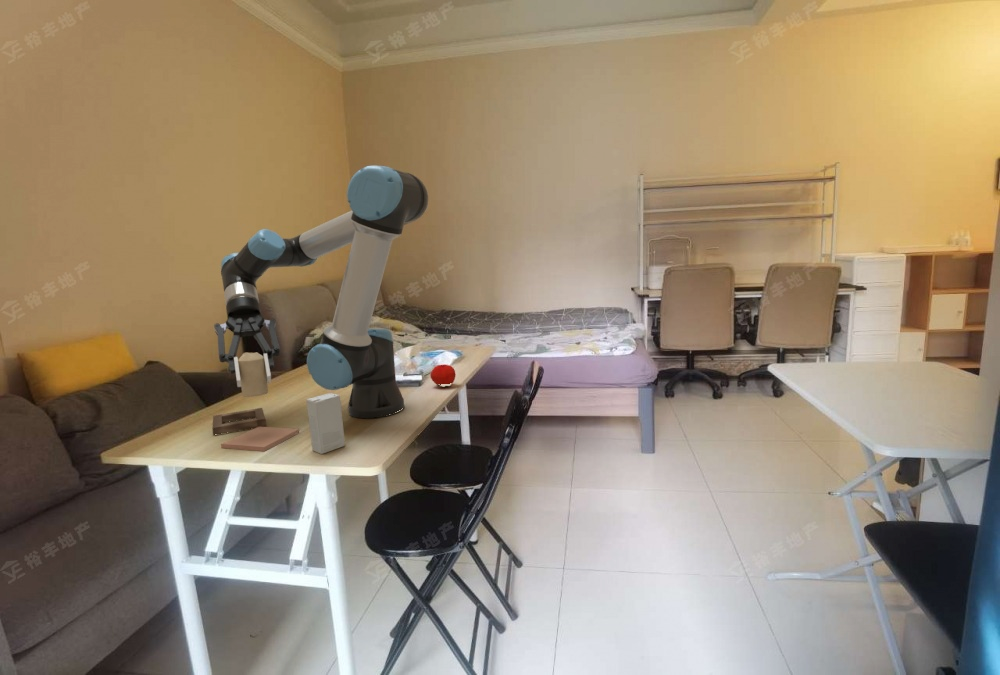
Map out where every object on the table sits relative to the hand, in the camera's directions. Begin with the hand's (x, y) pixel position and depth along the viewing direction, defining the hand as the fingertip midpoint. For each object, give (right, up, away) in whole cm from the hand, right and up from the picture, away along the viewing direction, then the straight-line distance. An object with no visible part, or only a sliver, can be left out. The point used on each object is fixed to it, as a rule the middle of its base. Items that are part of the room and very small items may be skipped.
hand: (254, 381), depth 115 cm
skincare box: (+18, -15, -2) cm, 23 cm away
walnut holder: (-13, -13, +18) cm, 26 cm away
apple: (+38, -6, +48) cm, 61 cm away
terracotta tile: (-1, -15, +5) cm, 16 cm away
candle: (-2, -4, +4) cm, 5 cm away
